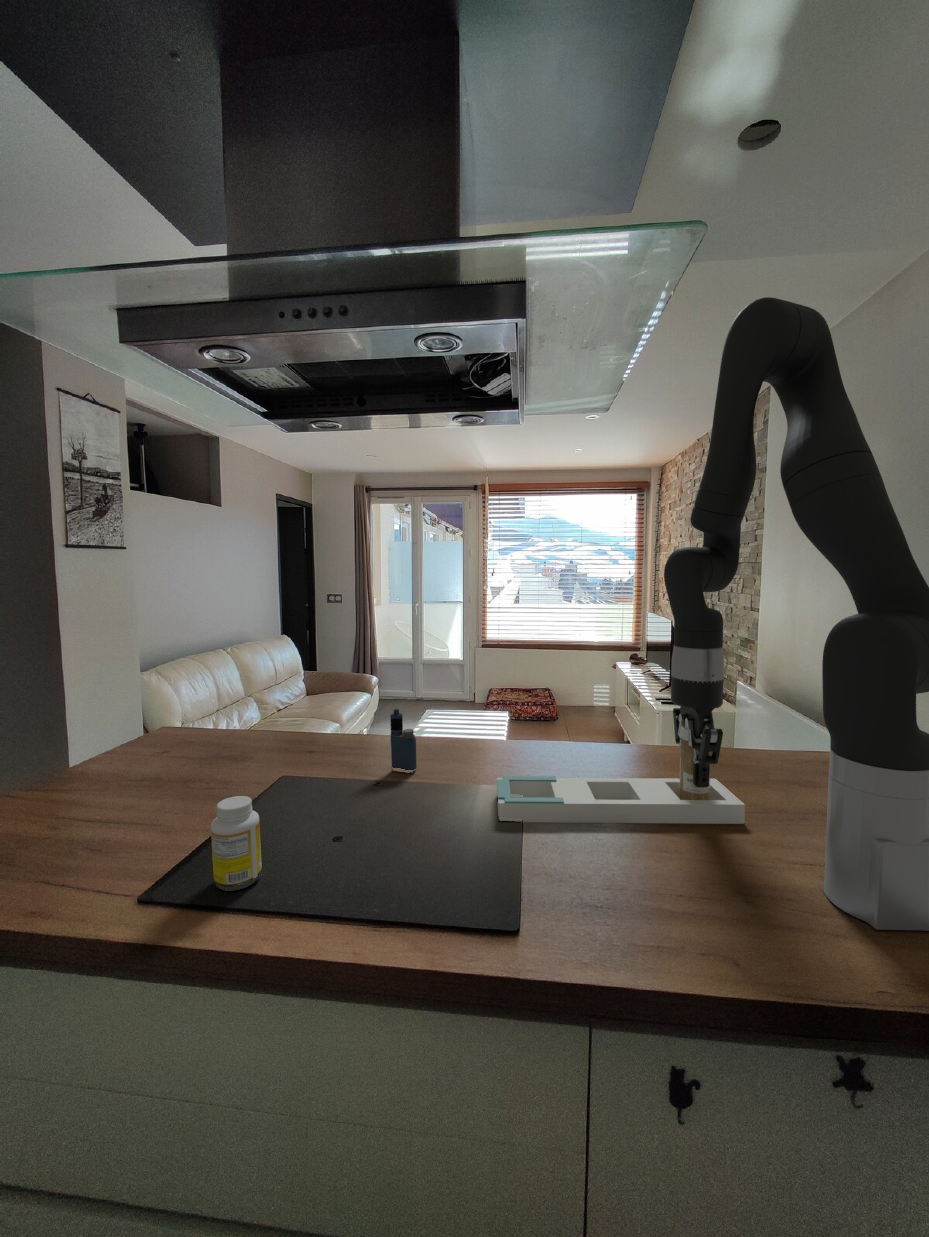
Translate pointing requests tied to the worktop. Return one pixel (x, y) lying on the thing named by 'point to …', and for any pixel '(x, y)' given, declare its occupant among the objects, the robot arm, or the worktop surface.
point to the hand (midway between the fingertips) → (694, 779)
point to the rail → (613, 801)
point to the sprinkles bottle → (689, 771)
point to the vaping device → (402, 744)
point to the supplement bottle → (236, 842)
